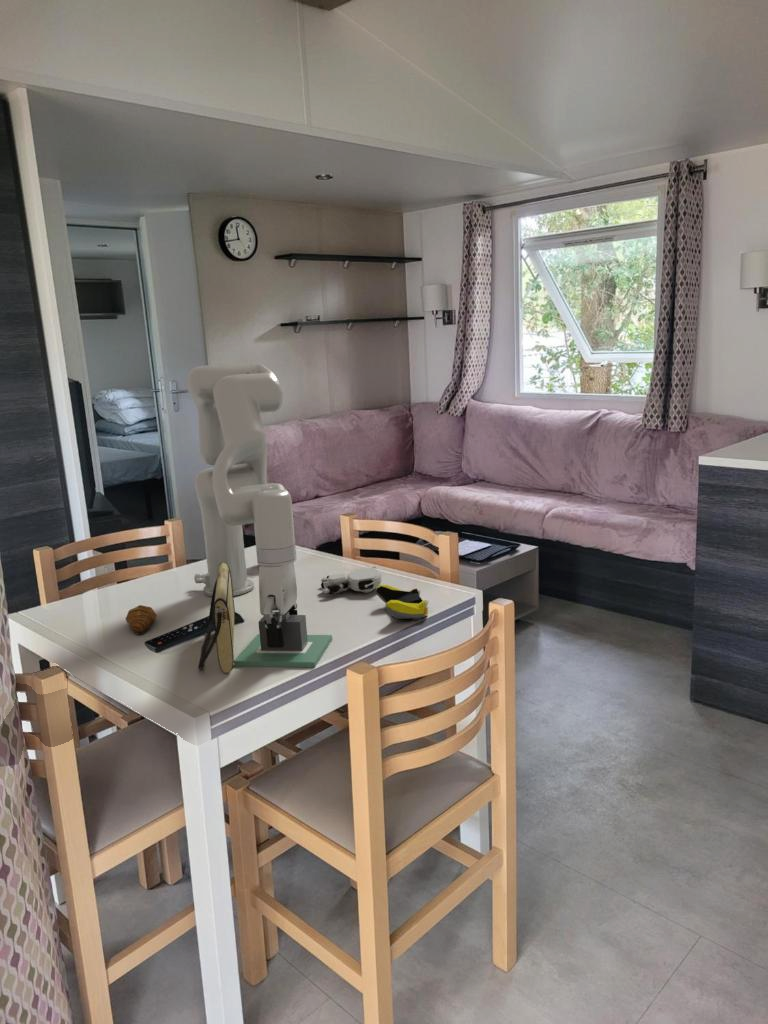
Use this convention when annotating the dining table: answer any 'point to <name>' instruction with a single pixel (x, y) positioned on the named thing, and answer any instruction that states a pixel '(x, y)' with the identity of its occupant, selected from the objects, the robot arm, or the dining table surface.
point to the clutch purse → (221, 620)
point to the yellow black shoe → (403, 602)
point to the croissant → (140, 618)
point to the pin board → (284, 654)
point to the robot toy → (352, 581)
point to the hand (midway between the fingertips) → (283, 637)
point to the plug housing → (287, 633)
